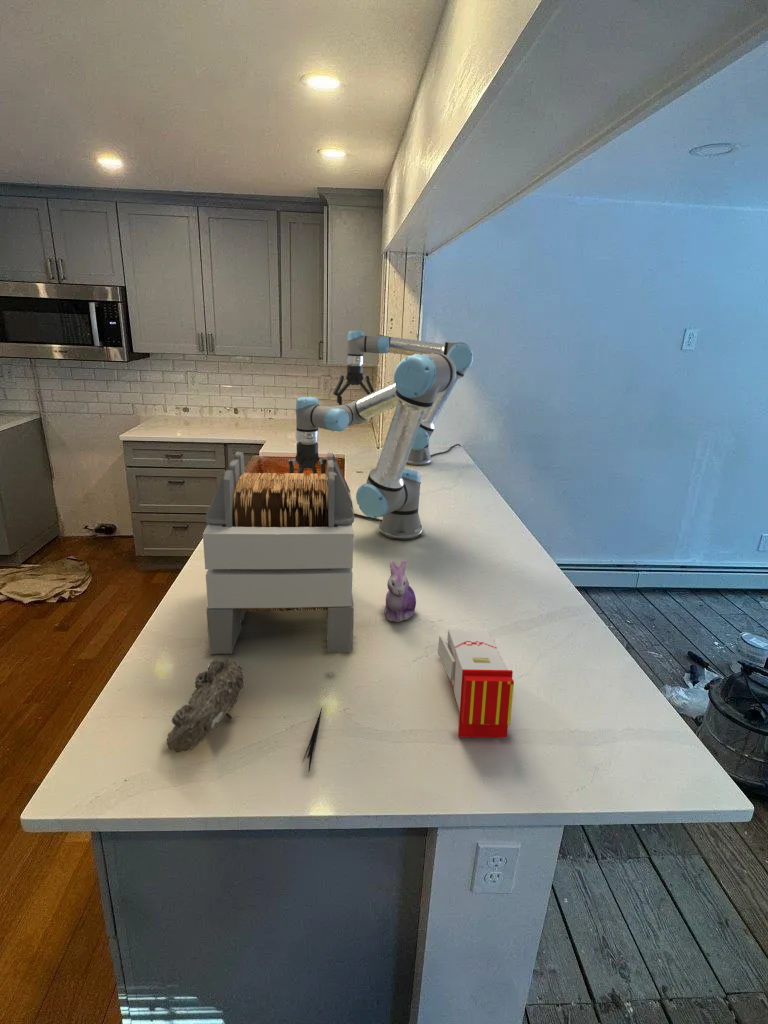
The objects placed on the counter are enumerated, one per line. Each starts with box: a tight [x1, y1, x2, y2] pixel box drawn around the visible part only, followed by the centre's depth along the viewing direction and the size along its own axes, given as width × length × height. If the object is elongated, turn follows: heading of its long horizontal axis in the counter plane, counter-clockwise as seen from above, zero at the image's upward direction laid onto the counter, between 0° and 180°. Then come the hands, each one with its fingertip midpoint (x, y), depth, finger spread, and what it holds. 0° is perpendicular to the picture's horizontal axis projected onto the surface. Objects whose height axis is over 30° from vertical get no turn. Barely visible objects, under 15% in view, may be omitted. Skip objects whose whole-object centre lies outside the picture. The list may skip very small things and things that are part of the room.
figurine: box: [384, 558, 417, 623], centre depth 145 cm, size 9×10×15 cm
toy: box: [437, 628, 515, 738], centre depth 117 cm, size 12×13×30 cm
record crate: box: [202, 451, 355, 655], centre depth 137 cm, size 34×33×41 cm
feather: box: [301, 673, 332, 771], centre depth 108 cm, size 2×28×2 cm
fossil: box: [166, 658, 245, 754], centre depth 106 cm, size 22×10×15 cm
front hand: (307, 504), depth 206 cm, fingers closed on block, 6 cm apart
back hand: (353, 409), depth 276 cm, fingers open, 13 cm apart
